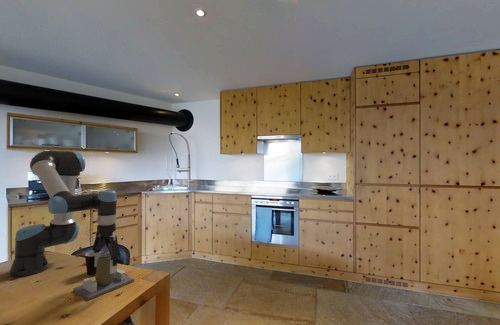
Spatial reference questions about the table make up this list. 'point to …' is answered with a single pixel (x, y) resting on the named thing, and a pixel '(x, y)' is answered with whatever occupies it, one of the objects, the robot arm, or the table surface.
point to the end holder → (94, 290)
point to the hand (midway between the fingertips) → (105, 269)
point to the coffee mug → (91, 263)
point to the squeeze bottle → (104, 269)
